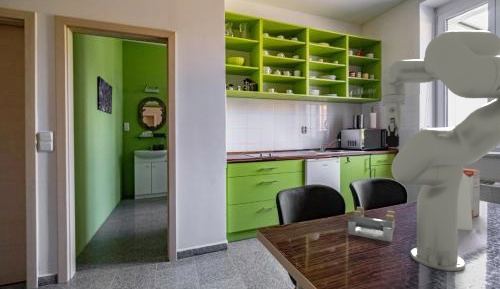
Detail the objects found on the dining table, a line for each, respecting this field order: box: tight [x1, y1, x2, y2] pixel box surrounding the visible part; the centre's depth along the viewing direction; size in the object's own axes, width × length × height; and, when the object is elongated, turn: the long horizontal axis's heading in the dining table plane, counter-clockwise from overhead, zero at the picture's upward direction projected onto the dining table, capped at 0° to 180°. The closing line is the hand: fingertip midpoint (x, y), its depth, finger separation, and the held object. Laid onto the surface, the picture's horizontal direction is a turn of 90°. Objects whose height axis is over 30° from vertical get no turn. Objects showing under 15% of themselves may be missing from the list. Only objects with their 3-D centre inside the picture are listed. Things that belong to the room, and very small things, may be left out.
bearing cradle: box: [353, 206, 396, 233], centre depth 102 cm, size 8×14×6 cm, turn 57°
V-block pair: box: [347, 220, 394, 243], centre depth 94 cm, size 8×14×4 cm, turn 57°
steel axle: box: [348, 214, 393, 231], centre depth 93 cm, size 4×14×4 cm, turn 57°
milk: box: [458, 173, 474, 231], centre depth 103 cm, size 12×12×26 cm
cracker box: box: [463, 168, 481, 218], centre depth 118 cm, size 14×6×21 cm, turn 25°
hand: (393, 146), depth 94 cm, fingers open, 9 cm apart
